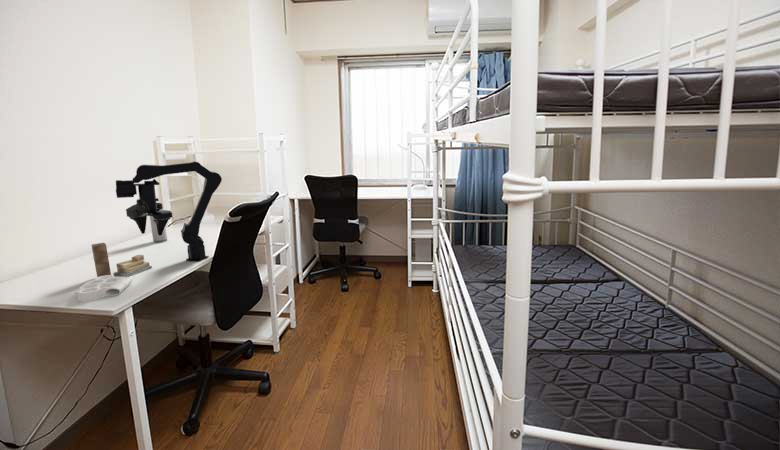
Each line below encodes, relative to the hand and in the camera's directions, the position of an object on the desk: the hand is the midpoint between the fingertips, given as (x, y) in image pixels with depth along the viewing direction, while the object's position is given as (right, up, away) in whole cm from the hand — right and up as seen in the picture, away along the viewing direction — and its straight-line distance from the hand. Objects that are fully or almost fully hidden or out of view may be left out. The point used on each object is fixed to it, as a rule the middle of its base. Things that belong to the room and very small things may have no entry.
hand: (151, 234), depth 168 cm
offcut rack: (-4, -15, -5) cm, 16 cm away
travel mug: (-20, -5, +43) cm, 48 cm away
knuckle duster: (-2, -20, -25) cm, 32 cm away
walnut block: (-11, -16, -11) cm, 23 cm away
